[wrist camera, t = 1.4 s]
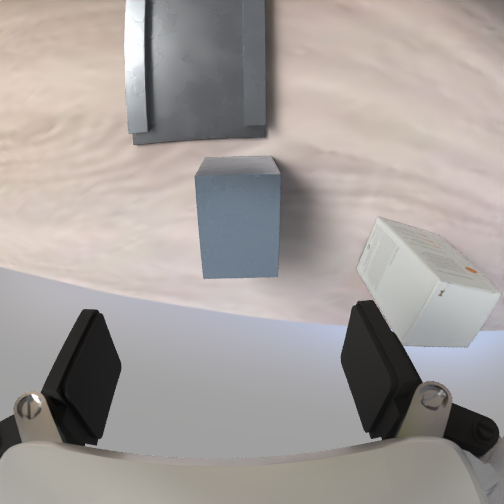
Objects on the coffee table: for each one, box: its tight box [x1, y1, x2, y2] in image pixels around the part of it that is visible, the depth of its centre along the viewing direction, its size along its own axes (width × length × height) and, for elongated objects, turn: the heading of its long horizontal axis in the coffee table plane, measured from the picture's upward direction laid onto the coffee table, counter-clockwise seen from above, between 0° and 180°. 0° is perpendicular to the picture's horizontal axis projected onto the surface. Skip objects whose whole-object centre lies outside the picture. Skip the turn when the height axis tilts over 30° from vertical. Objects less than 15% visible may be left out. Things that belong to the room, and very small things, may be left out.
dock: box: [125, 0, 266, 145], centre depth 16 cm, size 10×18×5 cm, turn 1°
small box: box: [356, 217, 502, 347], centre depth 23 cm, size 8×6×10 cm
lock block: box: [195, 156, 281, 279], centre depth 22 cm, size 5×7×6 cm
